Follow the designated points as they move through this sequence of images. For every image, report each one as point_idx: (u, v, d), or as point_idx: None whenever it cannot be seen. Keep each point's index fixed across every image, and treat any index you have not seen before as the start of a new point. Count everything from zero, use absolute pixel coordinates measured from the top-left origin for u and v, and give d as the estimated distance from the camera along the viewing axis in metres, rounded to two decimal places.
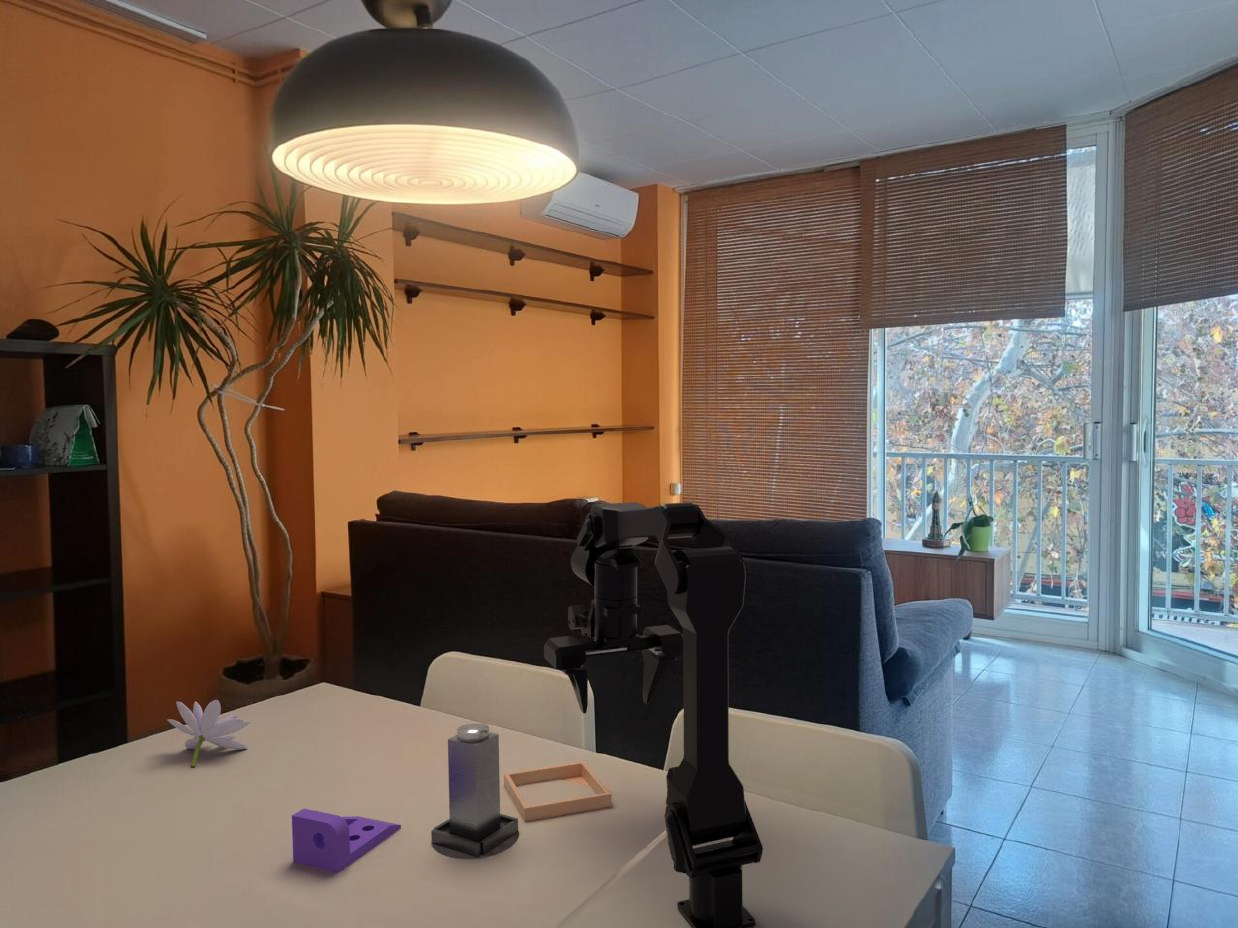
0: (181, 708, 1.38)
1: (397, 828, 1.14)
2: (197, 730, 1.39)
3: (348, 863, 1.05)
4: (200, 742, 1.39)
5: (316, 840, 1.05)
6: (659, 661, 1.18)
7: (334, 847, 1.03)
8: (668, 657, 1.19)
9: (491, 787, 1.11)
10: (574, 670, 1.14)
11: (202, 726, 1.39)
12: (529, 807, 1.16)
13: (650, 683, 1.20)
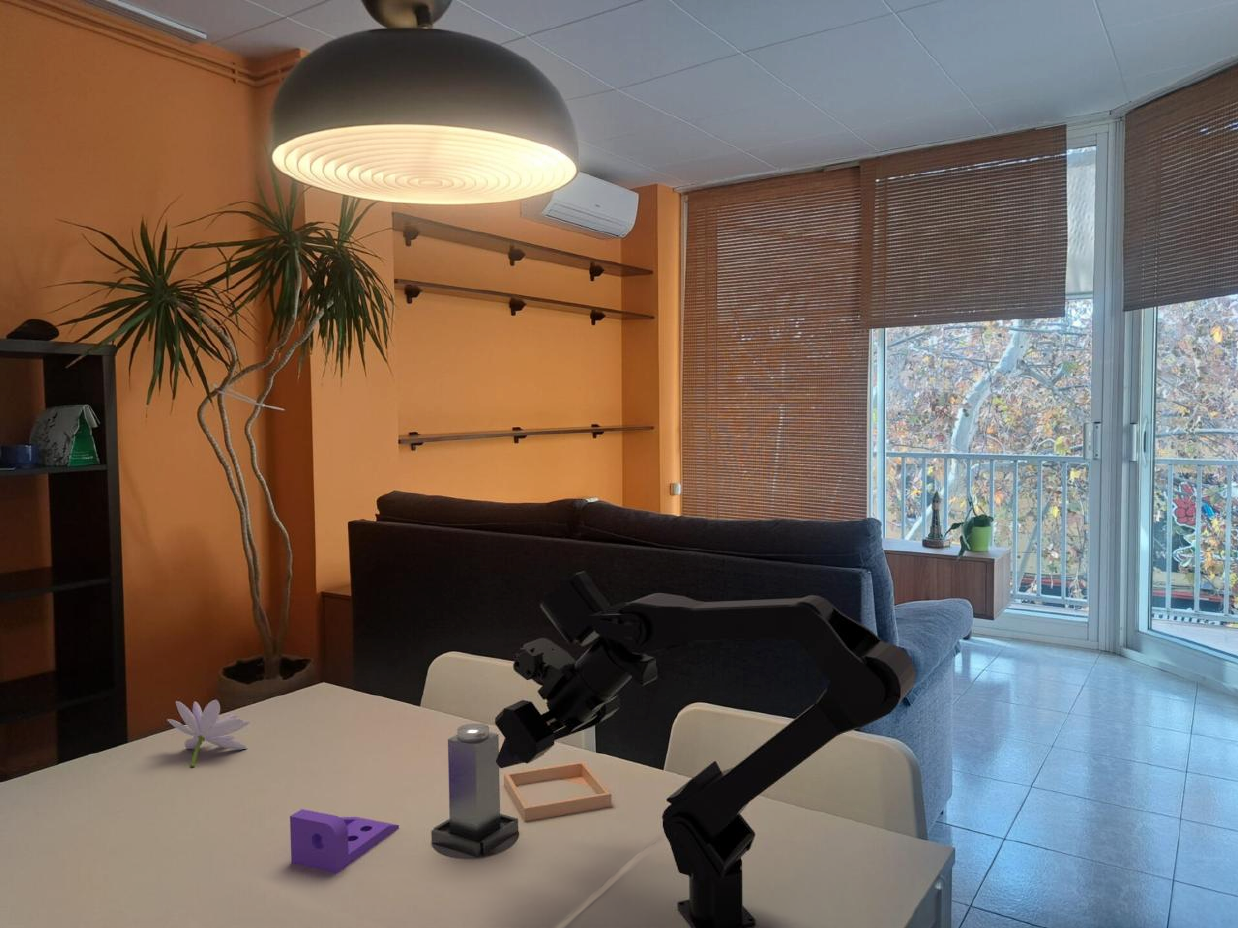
0: (180, 708, 1.38)
1: (395, 828, 1.14)
2: (196, 730, 1.39)
3: (347, 863, 1.05)
4: (199, 742, 1.39)
5: (315, 841, 1.05)
6: (592, 726, 1.08)
7: (332, 848, 1.03)
8: (597, 717, 1.09)
9: (491, 787, 1.11)
10: None
11: (201, 726, 1.39)
12: (529, 807, 1.16)
13: (565, 733, 1.09)
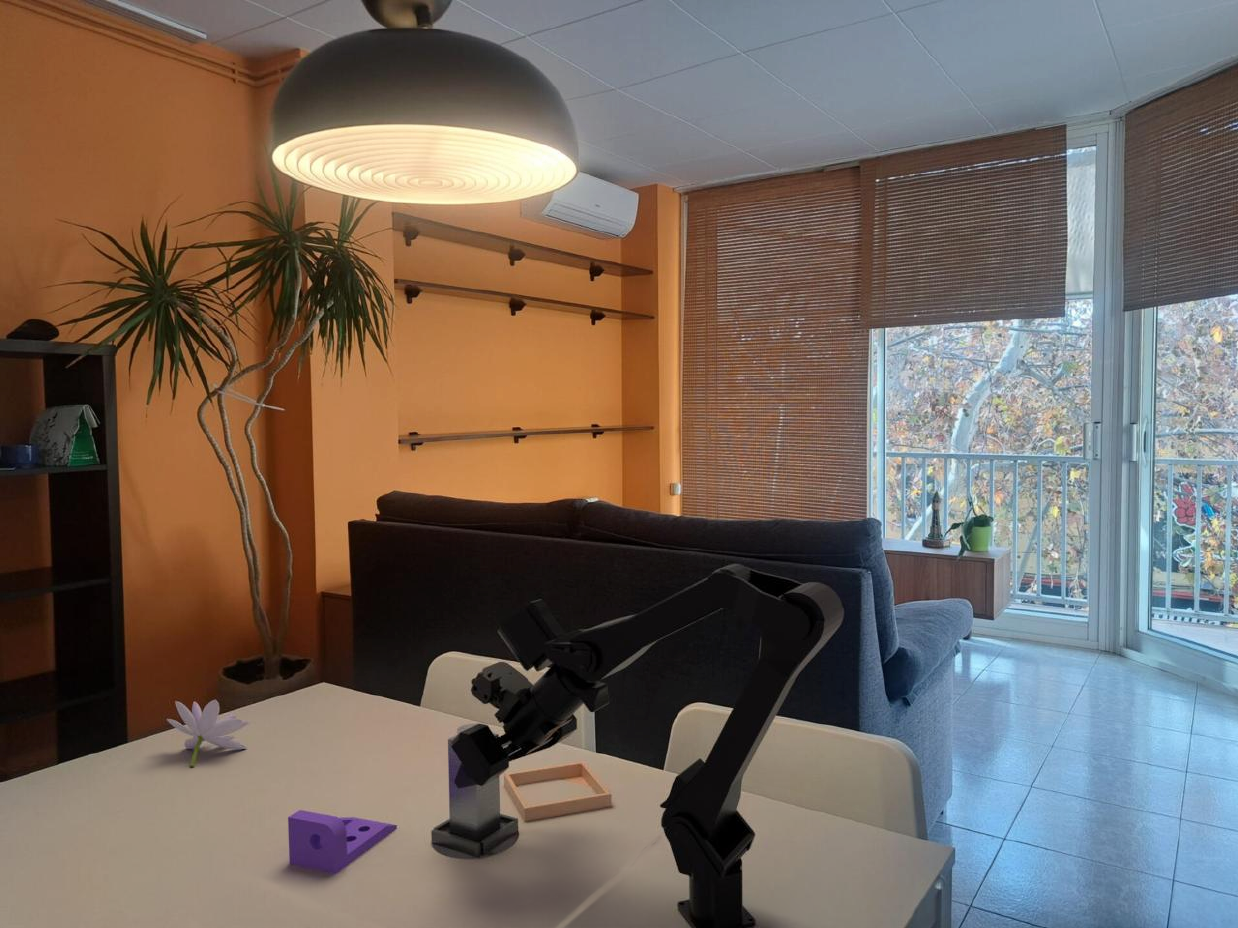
0: (180, 708, 1.38)
1: (393, 828, 1.14)
2: (195, 730, 1.39)
3: (345, 864, 1.05)
4: (199, 742, 1.39)
5: (313, 841, 1.05)
6: (549, 747, 1.11)
7: (331, 848, 1.03)
8: (554, 738, 1.13)
9: (491, 787, 1.11)
10: None
11: (201, 726, 1.39)
12: (529, 807, 1.16)
13: (523, 753, 1.13)
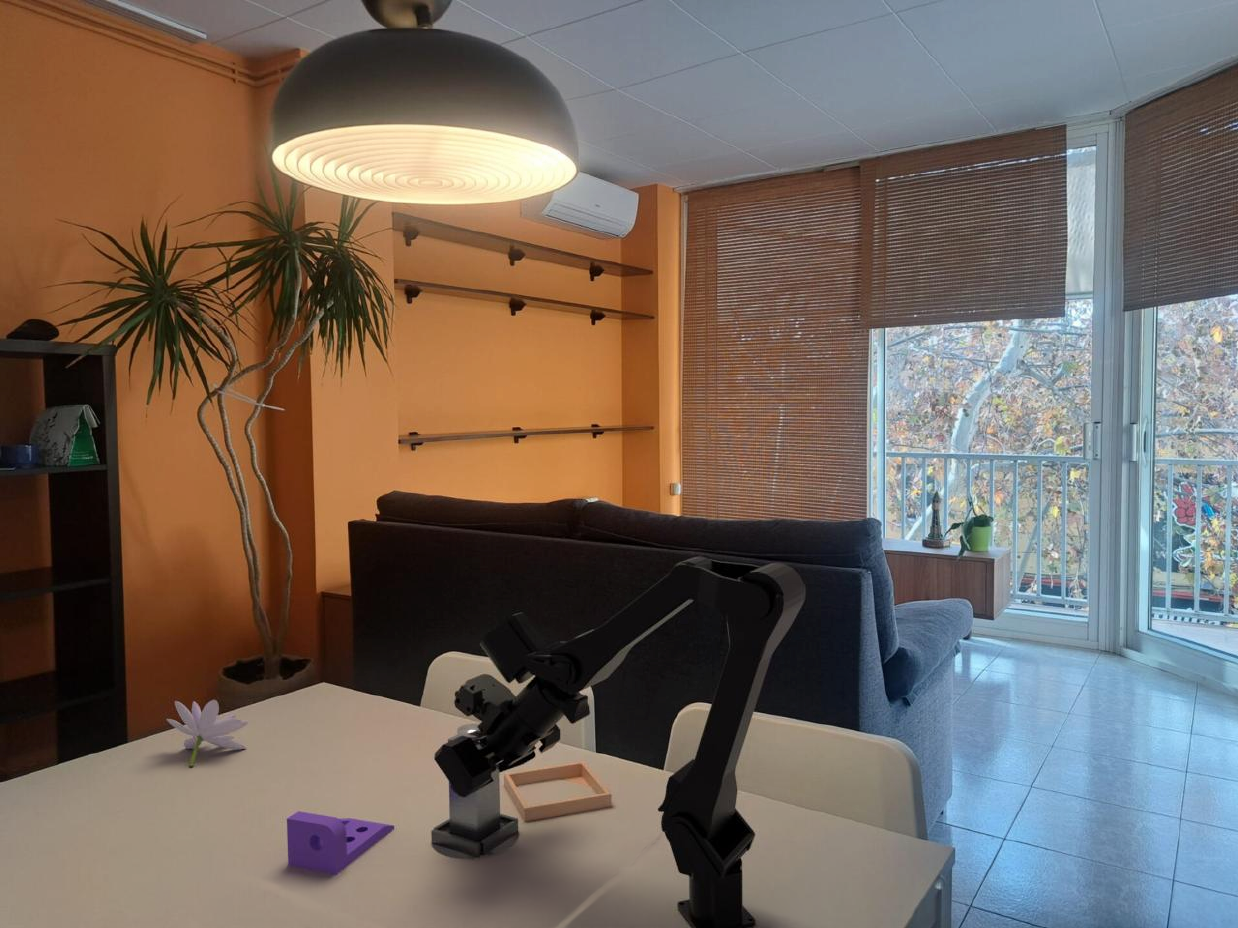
0: (179, 708, 1.38)
1: (390, 829, 1.14)
2: (195, 730, 1.39)
3: (345, 865, 1.05)
4: (198, 742, 1.39)
5: (312, 842, 1.04)
6: (522, 764, 1.11)
7: (331, 849, 1.03)
8: (528, 754, 1.12)
9: (491, 787, 1.11)
10: (483, 784, 1.04)
11: (200, 726, 1.39)
12: (529, 807, 1.16)
13: None
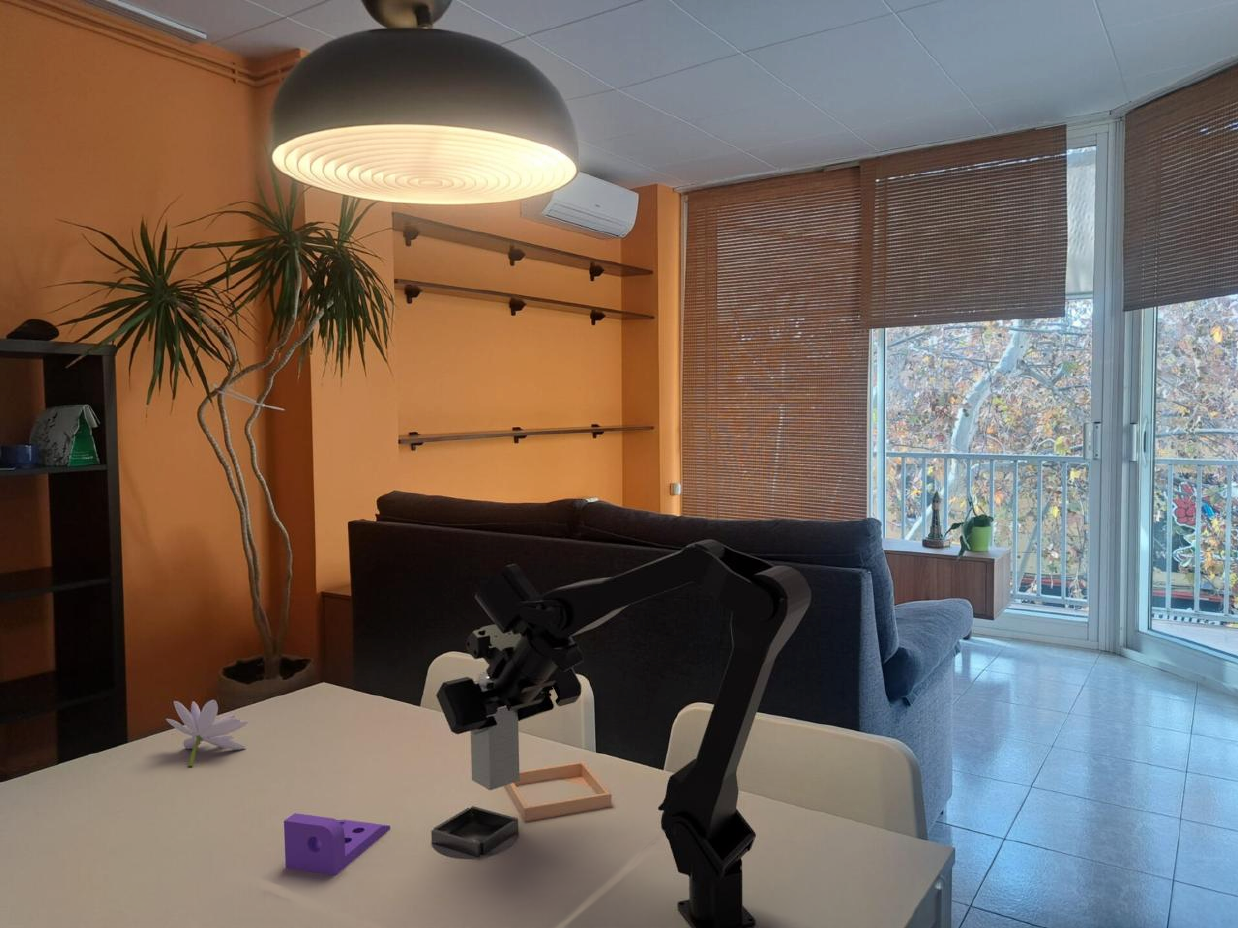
0: (178, 708, 1.38)
1: (387, 829, 1.13)
2: (194, 730, 1.39)
3: (344, 865, 1.04)
4: (197, 742, 1.39)
5: (310, 844, 1.04)
6: (537, 713, 1.13)
7: (330, 850, 1.03)
8: (545, 706, 1.14)
9: (507, 733, 1.14)
10: (484, 725, 1.07)
11: (199, 726, 1.39)
12: (529, 807, 1.16)
13: None
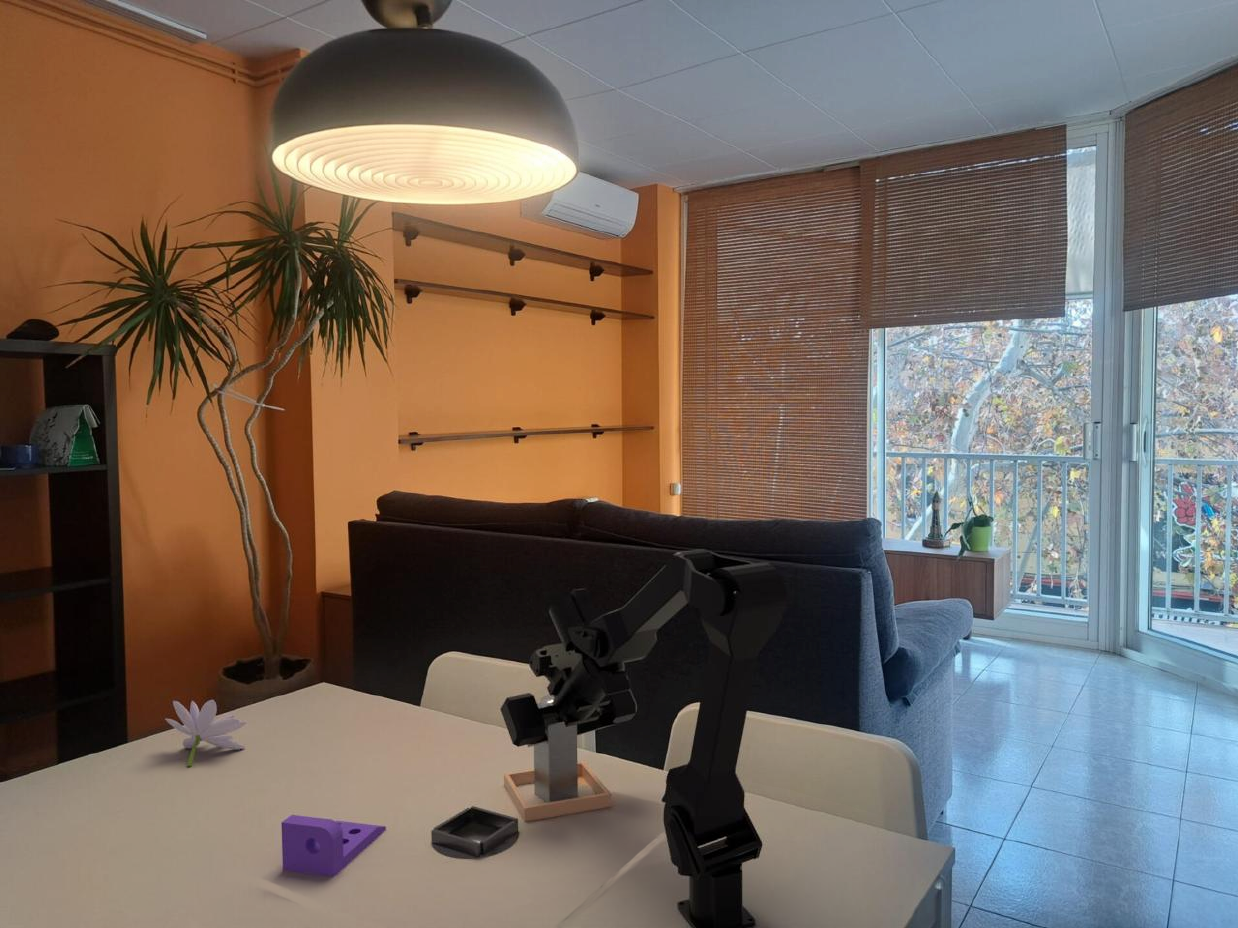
0: (177, 708, 1.38)
1: (382, 830, 1.13)
2: (193, 730, 1.39)
3: (342, 867, 1.04)
4: (196, 742, 1.39)
5: (308, 845, 1.04)
6: (601, 727, 1.21)
7: (329, 851, 1.02)
8: (609, 720, 1.22)
9: (567, 754, 1.22)
10: None
11: (198, 726, 1.39)
12: (529, 807, 1.16)
13: (584, 730, 1.24)
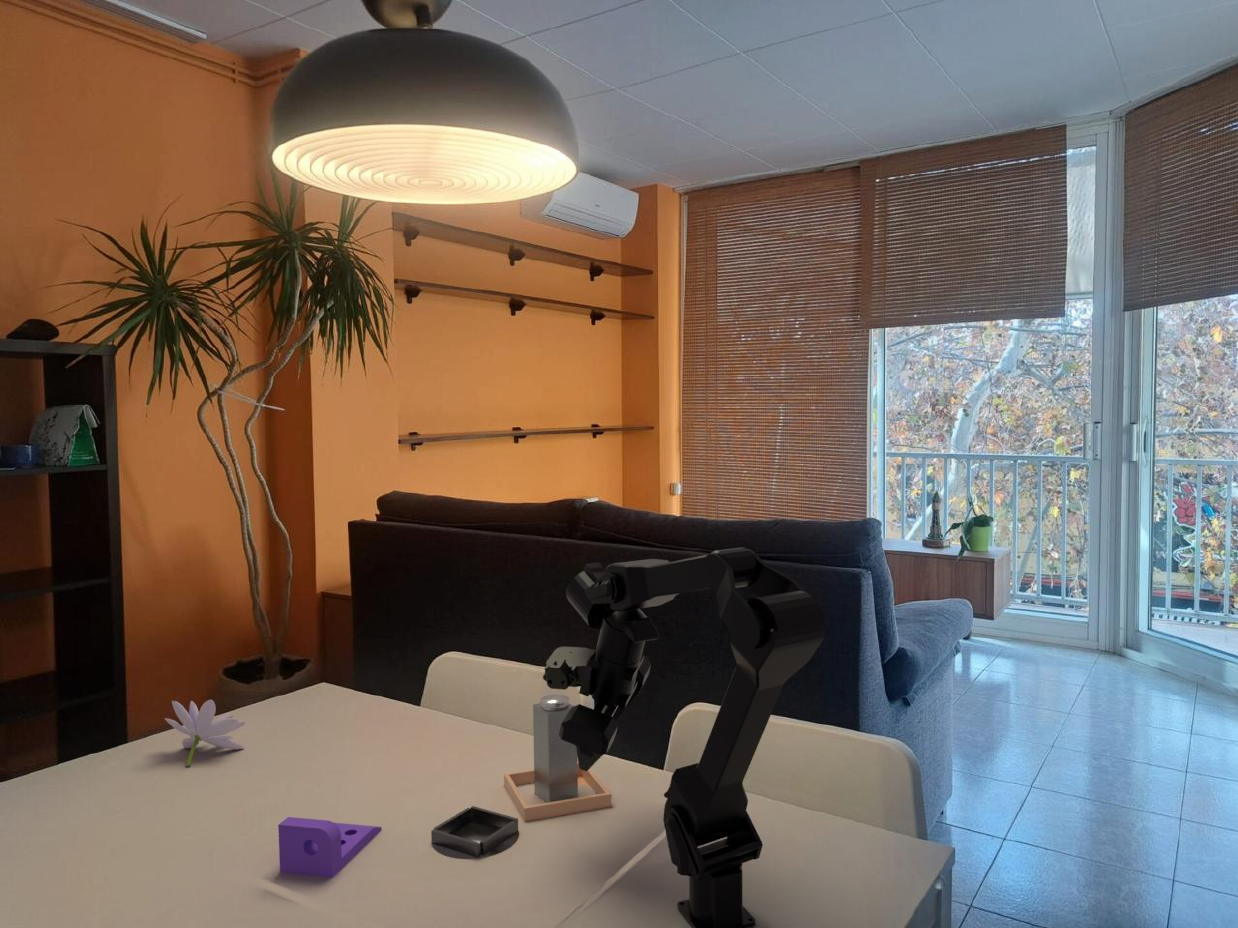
0: (176, 707, 1.38)
1: (378, 830, 1.13)
2: (192, 730, 1.39)
3: (340, 868, 1.04)
4: (195, 742, 1.40)
5: (306, 847, 1.03)
6: (638, 692, 1.17)
7: (327, 852, 1.02)
8: (638, 683, 1.18)
9: (567, 754, 1.22)
10: None
11: (197, 726, 1.39)
12: (529, 807, 1.16)
13: (620, 711, 1.18)
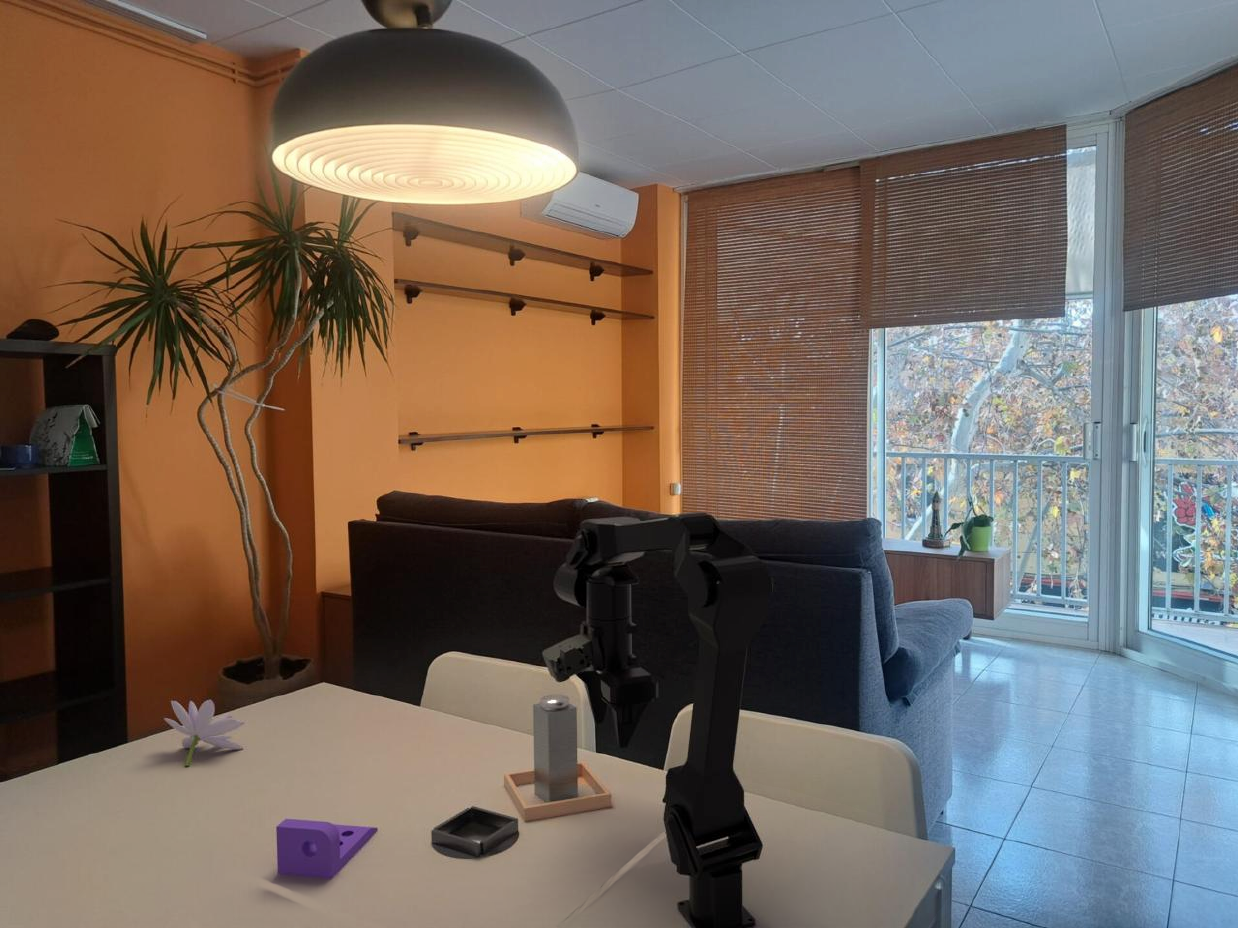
0: (175, 707, 1.38)
1: (374, 831, 1.13)
2: (191, 730, 1.39)
3: (339, 869, 1.04)
4: (195, 741, 1.40)
5: (304, 849, 1.03)
6: None
7: (326, 854, 1.02)
8: None
9: (567, 754, 1.22)
10: None
11: (196, 726, 1.39)
12: (529, 807, 1.16)
13: None
